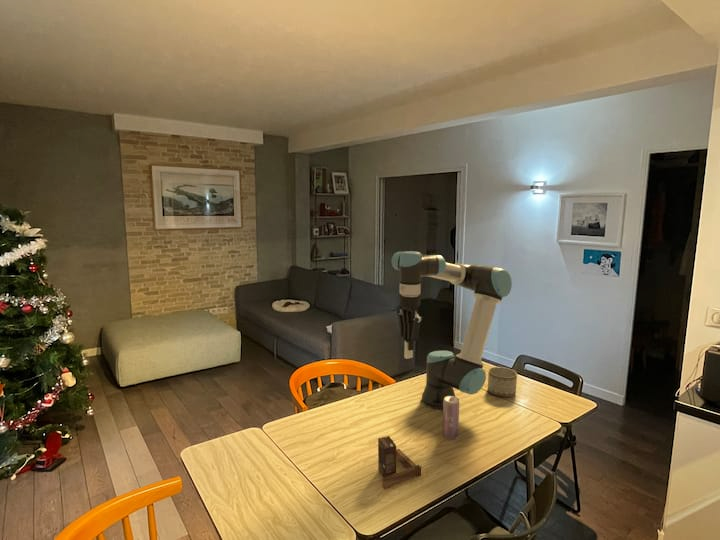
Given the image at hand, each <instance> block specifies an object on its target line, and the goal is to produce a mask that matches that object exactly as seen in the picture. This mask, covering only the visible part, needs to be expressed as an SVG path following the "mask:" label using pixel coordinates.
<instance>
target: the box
mask: <svg viewBox="0 0 720 540" xmlns="http://www.w3.org/2000/svg"><path fill="white" fill-rule="evenodd" d="M377 442H378V443H377V445H378V446H377V448H378V450H377V451H378V452H377V453H378V455H377V456H378V458H377V460H378V461H377V464H378V466H377V467H378V468H377V469H378V473H379V474H380V476H381V477H382V478H383V477H386V476H389V475H392V474H394V473H397V459H396V450H397V444H396V443H395V442H394V440H393V439H392V438H391V437H390V435H387V436H383V437H378V439H377Z"/></svg>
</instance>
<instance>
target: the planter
mask: <svg viewBox="0 0 720 540" xmlns="http://www.w3.org/2000/svg"><path fill="white" fill-rule="evenodd" d="M487 378H488V379H487V391H488V392H489V393H490V394H491V395H495V396H497V397H504V398H505V397H507V398H510V397H513V396H515V395H516V393H517V381H518V379H517V378H518V373H517V372H516V370H514V369H511V368H510V367H509V368H508V367H503V366H493V367H490V368H489V369H488V374H487Z"/></svg>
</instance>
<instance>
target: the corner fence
mask: <svg viewBox="0 0 720 540" xmlns="http://www.w3.org/2000/svg"><path fill="white" fill-rule="evenodd" d="M396 461H398V462H399V463H400V464H401V465H402V466H403V467H404V468H405V469H403V470H401V471H398V472H397V471H396V473H394V474H392V475H389V476H386V477H382V479H381V480H382V481H381V482H382V483H381V486H382V488H383V489H384V490H387V489H389V488H392V487H395V486H397V485H400V484H402V483H406V482H408V481H411V480H414V479H416V478H417V477H421V476H422V466H421V465H420V464H416V463H415V462H414V461H413V460H411V458H410V457H408V455H406V454H405V453H404V452H403V451H402V450H401V449H400V448H396Z"/></svg>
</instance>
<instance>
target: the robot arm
mask: <svg viewBox="0 0 720 540" xmlns="http://www.w3.org/2000/svg"><path fill="white" fill-rule="evenodd" d="M391 265H392V267H393V269H395V270H396V271H399V286H398V287H399V293H398V294H400V295H399V296H398V298H399V299H398V304H399V306H400V309H399V310H396V313H397V317H398V323H399V326H398V327H399V334H400V337H401V338H403V348H404V350H403V351H404V353H403V354H404V359H407V360H408V359H412V358H413V357H414V343H415V342H418V339H419V335H420V334H419V333H420V328H421V324H422V321H423V320H424V318H423V317H422V316H420V315H419V309H418V308H419V307H420V306H421V294H422V293H421V288H422V287H421V285H422V278H424V277H429V278H433V279H438V280H443V281H448V282H449V283H450V284H451V285H455V286H458V287H461V288H464V289H468V290H470V291H473V296H474V297H475V301H474V305H473V308H472V311H471V315H470V319H469V322H468V326H467V330H466V333H465V336H464V340H463V343H462V346H461V351H460V353H458V354H455V355H454V352H453V351H450V350H434V351H431V352H429V353H428V354H427V357H426V371H425V372H426V373H425V374H426V376H425V377H426V381H425V387H424V390H423V392H422V394H421V402H422V404H424V405H425V406H426V407H428V408H430V409H435V410H443V401H444V398H445V397H446V396H454V397H456V394H455V390H454V389H456V390H458V391H460V392H461V393H465V394H468V395H475V394H477V393H478V392H479V391H481V390H482V388H483V386H484V385H485V384H486V383H485V382H486V379H487V372H486V371H485V370H484V369H483V367H484V363H483V361H482V357H483V354H484V350H485V347H486V343H487V340H488V335H489V331H490V328H491V326H492V322H493V318H494V314H495V311H496V307H497V305H498V304H500V303H502V299H503V298H506V297H507V296H509V294H510V293H511V291H512V290H511V289H512V284H513V282H512V278H511V274H510V273H509V271H508V270H507V269H504V268H501V267H496V266H487V265H480V264H466V263H465V264H464V263H458V262H456V263H454V264H453V263H449V262H446V260H445V258H444V257H443V256H442V255H440V254H431V255H430V254H422V253H421V252H419V251H413V250H411V251H408V250H407V251H397V252H395V253H394V254H393V256H392V257H391Z"/></svg>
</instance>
